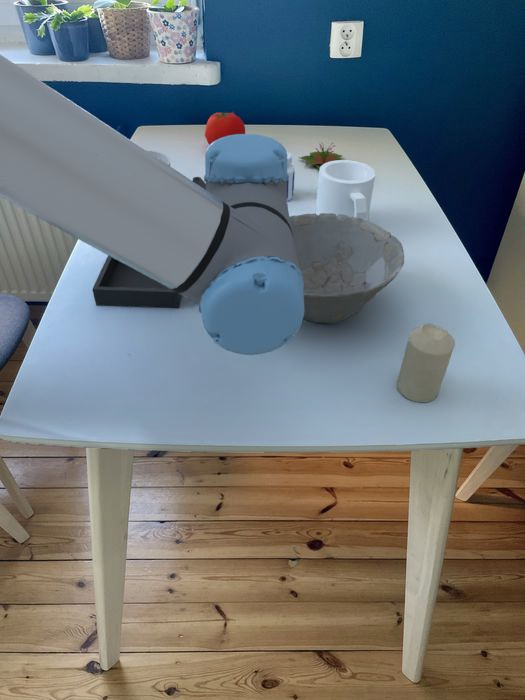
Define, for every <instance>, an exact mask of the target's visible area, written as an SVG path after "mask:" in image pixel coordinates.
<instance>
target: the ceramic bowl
mask: <svg viewBox="0 0 525 700" xmlns="http://www.w3.org/2000/svg"><path fill="white" fill-rule="evenodd" d="M289 217H290V223H291V228H292V234H293V240H294V245H295V249H296V254H297V259H298V263H299V268H300V271H301V274H302V277H303V282H304V287H303V293H304V317H303V320H305V321H308V322H315V323H320V324H327V325H329V324H335V323H338V322H340V321H343V320H345V319H346V318H348V317H351V316H353V315H355V314H357V313H358V312H360V311H361V310H363V308H364V307H365V306H367V305H368V304H369V303H370V302H371V301H372V300H373V299H374V298H375V297H376V296H377V294H379V293H380V292H382V290H383V289H385V288H386V287H387V286H388V285H389V284H390V283H391V282H392V281H393V280H394V279H395V278H396V277H397V276H398V275H399V273H400V272H401V271H402V268H403V266H404V264H405V252H404V247H403V245H402V242H401V241H400V240H399V239H398V238H397V236H395V235H392V234H391V232H389V231H387V230H385V229H383V228H382V227H381V226H379V225H377V224H376V223H374V222H371V221H369V220H368V221H366V220H363V219H361V218H356V217H351V218H350V217H349V216H347V215H341V214H338V215H337V216H336V214H333V213H331V214H325V213H321V214H319V215H317V214H315V213H304V214H298V215H289Z"/></svg>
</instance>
